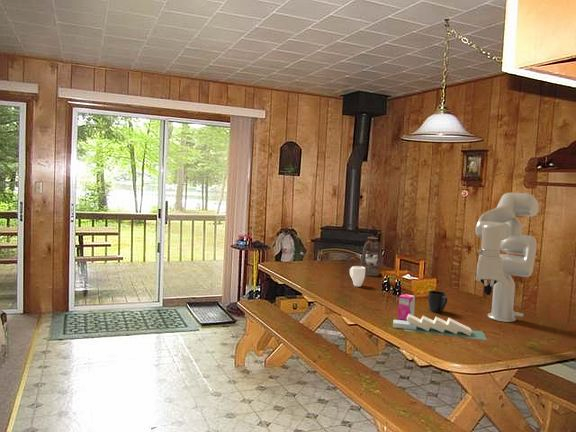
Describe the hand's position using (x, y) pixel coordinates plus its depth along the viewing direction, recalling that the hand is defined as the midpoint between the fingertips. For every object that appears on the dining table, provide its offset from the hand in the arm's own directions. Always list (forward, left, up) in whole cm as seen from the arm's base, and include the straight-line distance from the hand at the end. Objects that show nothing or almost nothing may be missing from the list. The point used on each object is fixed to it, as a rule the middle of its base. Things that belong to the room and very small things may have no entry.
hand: (487, 294), depth 213 cm
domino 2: (+24, +4, -16) cm, 29 cm away
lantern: (+55, -112, -18) cm, 126 cm away
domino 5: (+6, +4, -16) cm, 18 cm away
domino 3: (+17, +4, -16) cm, 24 cm away
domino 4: (+12, +4, -16) cm, 21 cm away
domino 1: (+29, +4, -16) cm, 34 cm away
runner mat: (+17, +4, -18) cm, 25 cm away
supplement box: (+33, -9, -18) cm, 39 cm away
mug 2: (+62, -74, -18) cm, 99 cm away
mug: (+17, -29, -18) cm, 38 cm away
